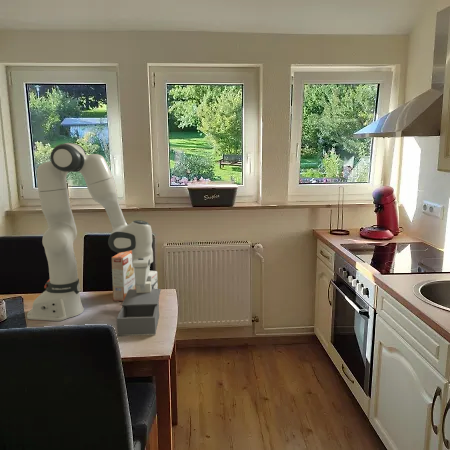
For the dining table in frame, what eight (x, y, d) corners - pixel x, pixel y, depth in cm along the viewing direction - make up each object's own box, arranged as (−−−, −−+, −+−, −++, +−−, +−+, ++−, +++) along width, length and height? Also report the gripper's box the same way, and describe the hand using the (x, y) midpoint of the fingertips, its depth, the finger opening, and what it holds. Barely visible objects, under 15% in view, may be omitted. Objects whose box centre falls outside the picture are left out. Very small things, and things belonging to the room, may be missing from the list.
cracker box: (125, 301, 190) (123, 257, 186) (112, 300, 191) (110, 257, 187) (136, 291, 203) (135, 250, 199) (125, 290, 204) (123, 249, 200)
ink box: (151, 300, 191) (151, 276, 189) (141, 299, 192) (140, 275, 190) (158, 294, 199) (157, 270, 197) (148, 293, 200) (147, 270, 198)
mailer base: (117, 336, 155) (116, 318, 154) (125, 316, 173) (124, 301, 171) (155, 334, 156) (154, 317, 155) (159, 315, 174) (158, 300, 172)
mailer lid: (121, 306, 165) (121, 295, 164) (128, 290, 183) (128, 280, 182) (157, 305, 166) (156, 294, 165) (160, 290, 184) (160, 280, 183)
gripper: (138, 252, 187) (139, 281, 190) (131, 264, 167) (133, 297, 170) (152, 251, 188) (153, 281, 190) (147, 264, 168) (148, 296, 170)
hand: (143, 288), depth 180 cm, fingers open, 4 cm apart
